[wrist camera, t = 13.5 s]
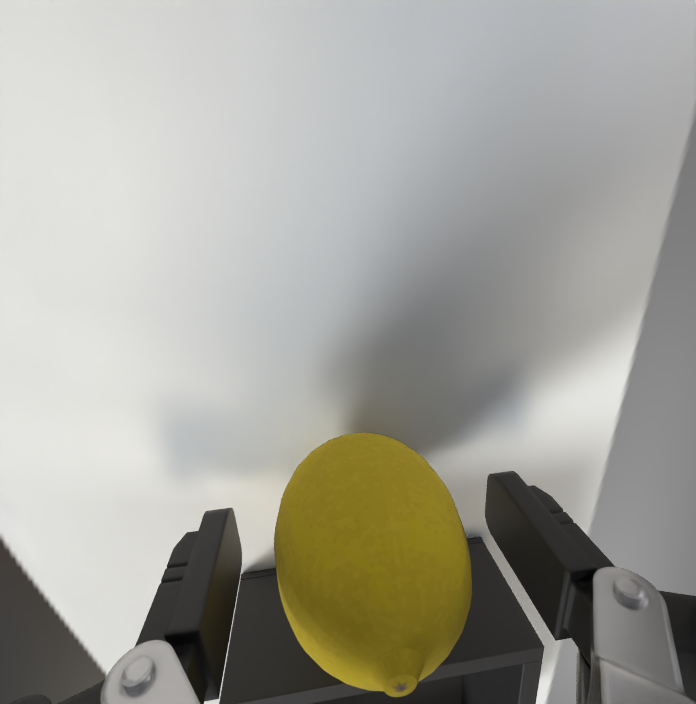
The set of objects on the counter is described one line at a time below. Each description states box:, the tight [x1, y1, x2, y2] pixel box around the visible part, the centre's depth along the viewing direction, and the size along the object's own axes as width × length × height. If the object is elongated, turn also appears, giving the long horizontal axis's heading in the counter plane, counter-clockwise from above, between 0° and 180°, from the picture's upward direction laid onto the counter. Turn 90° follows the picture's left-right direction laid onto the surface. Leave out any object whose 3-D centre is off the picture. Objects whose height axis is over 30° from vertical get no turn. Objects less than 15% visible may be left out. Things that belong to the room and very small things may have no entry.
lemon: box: [274, 433, 472, 697], centre depth 11 cm, size 6×6×8 cm
